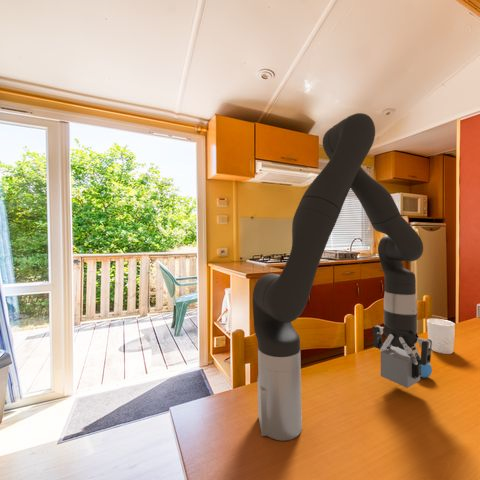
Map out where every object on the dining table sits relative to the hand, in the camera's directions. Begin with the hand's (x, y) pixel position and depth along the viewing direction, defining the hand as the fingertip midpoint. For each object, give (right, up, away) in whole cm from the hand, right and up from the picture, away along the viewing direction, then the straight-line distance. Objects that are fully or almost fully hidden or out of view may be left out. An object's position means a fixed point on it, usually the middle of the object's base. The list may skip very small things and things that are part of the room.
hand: (400, 371), depth 69 cm
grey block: (0, -2, 0) cm, 2 cm away
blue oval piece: (+10, -2, +6) cm, 12 cm away
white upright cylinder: (+29, -4, +23) cm, 37 cm away
